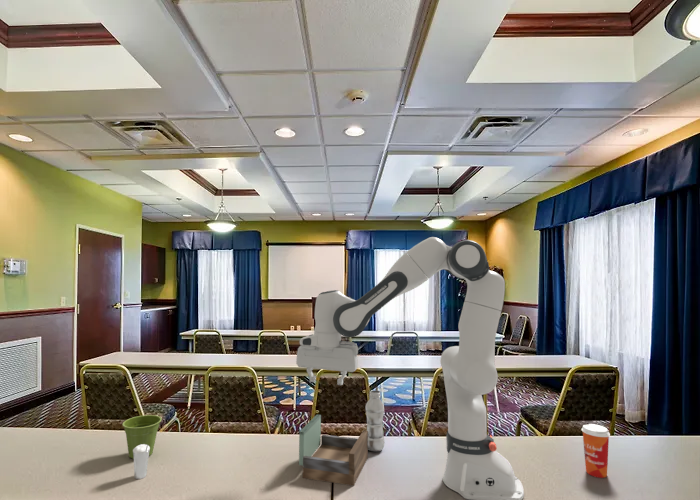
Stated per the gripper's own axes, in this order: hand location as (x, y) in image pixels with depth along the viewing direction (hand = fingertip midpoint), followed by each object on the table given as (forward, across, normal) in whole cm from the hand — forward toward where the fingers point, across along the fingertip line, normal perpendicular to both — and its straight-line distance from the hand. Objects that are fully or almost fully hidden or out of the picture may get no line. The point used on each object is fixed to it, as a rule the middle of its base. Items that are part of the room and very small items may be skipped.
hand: (326, 383), depth 132 cm
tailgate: (+23, +4, 0) cm, 24 cm away
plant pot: (+27, +62, +11) cm, 68 cm away
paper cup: (+25, -83, -20) cm, 89 cm away
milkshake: (+27, +50, +23) cm, 62 cm away
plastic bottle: (+26, -13, -16) cm, 33 cm away
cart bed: (+26, -4, 0) cm, 26 cm away
